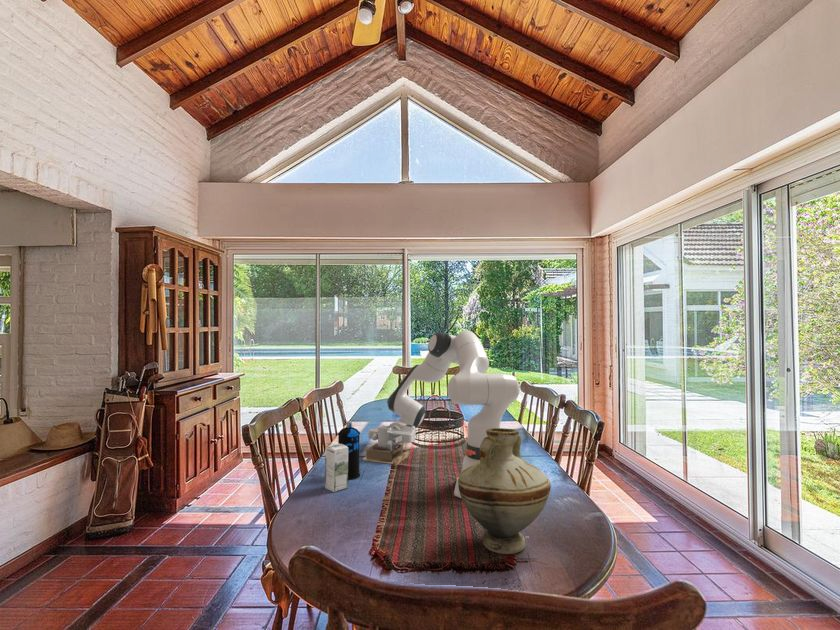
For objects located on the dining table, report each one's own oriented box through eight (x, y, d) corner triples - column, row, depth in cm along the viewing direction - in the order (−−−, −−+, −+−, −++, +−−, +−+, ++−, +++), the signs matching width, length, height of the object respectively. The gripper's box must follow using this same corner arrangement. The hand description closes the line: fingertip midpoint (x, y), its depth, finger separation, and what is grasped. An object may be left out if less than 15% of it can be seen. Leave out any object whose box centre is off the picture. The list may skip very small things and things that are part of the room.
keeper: (393, 464, 181) (393, 453, 181) (362, 460, 186) (362, 450, 186) (406, 454, 194) (406, 444, 194) (377, 450, 199) (377, 441, 199)
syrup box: (338, 483, 159) (338, 442, 159) (348, 488, 155) (348, 446, 155) (324, 488, 155) (324, 445, 155) (334, 493, 151) (334, 449, 151)
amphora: (538, 527, 129) (531, 420, 132) (569, 565, 105) (559, 433, 108) (456, 533, 128) (450, 424, 131) (468, 572, 105) (460, 439, 107)
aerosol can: (332, 476, 167) (333, 421, 167) (350, 470, 173) (350, 418, 173) (346, 481, 161) (347, 425, 161) (364, 475, 168) (364, 421, 168)
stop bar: (387, 457, 187) (387, 428, 187) (377, 456, 188) (378, 427, 188) (391, 454, 191) (392, 426, 191) (382, 453, 193) (382, 425, 193)
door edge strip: (395, 466, 178) (395, 461, 178) (393, 466, 179) (393, 460, 179) (410, 454, 193) (410, 450, 193) (408, 454, 193) (408, 449, 193)
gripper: (376, 422, 205) (361, 429, 192) (418, 426, 198) (406, 434, 185) (376, 436, 205) (361, 444, 192) (418, 441, 198) (406, 449, 185)
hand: (384, 439), depth 189 cm, fingers open, 8 cm apart
